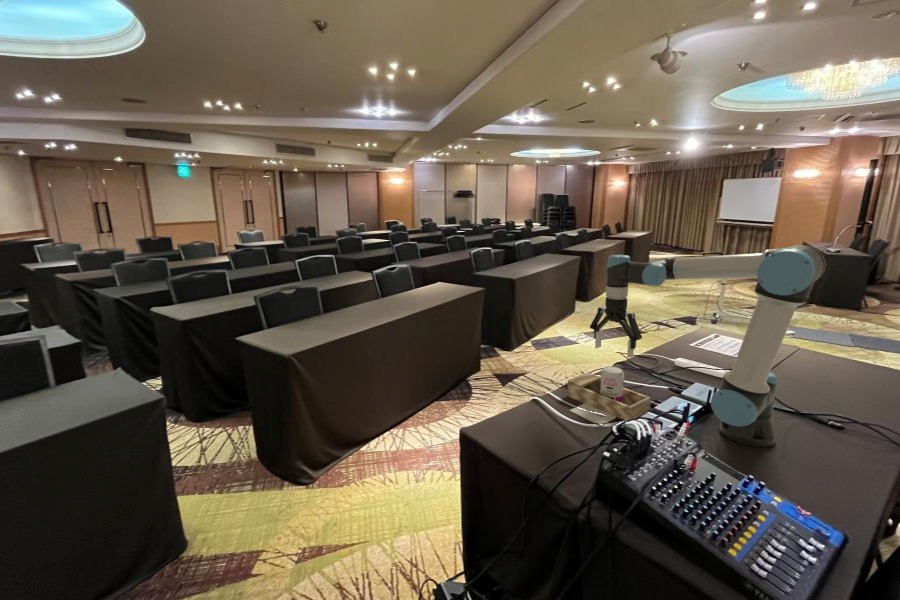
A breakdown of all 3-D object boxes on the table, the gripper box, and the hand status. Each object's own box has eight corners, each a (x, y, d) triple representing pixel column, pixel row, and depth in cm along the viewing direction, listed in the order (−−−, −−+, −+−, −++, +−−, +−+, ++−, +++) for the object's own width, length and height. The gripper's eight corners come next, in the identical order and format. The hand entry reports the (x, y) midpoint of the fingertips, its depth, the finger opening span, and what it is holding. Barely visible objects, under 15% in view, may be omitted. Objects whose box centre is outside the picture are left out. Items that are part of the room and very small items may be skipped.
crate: (649, 412, 154) (650, 394, 153) (629, 423, 147) (630, 405, 146) (587, 387, 177) (587, 372, 175) (567, 396, 170) (567, 380, 168)
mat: (616, 418, 151) (616, 417, 151) (601, 426, 146) (601, 424, 146) (584, 404, 162) (584, 403, 162) (569, 411, 157) (569, 410, 157)
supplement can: (618, 400, 164) (620, 365, 161) (625, 410, 156) (627, 374, 153) (597, 400, 165) (599, 365, 162) (602, 410, 157) (604, 373, 154)
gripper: (655, 301, 143) (650, 358, 148) (594, 290, 163) (591, 341, 168) (643, 304, 139) (638, 363, 144) (581, 293, 159) (580, 345, 164)
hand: (613, 351), depth 156 cm, fingers open, 13 cm apart
